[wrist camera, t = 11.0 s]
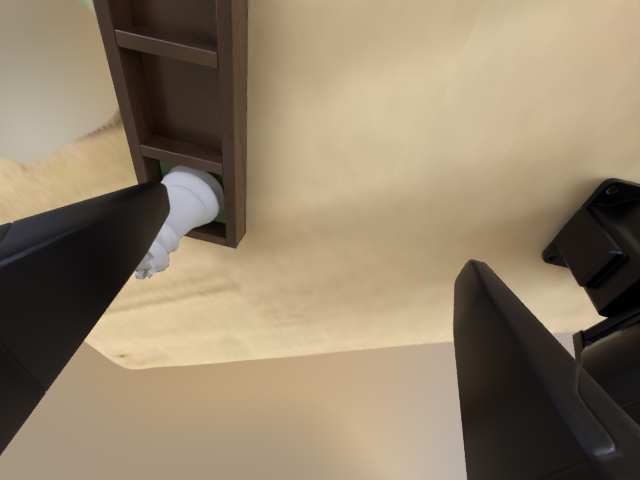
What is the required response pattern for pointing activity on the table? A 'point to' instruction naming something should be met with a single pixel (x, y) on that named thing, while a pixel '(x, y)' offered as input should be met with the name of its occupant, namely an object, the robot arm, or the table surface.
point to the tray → (184, 94)
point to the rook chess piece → (182, 213)
